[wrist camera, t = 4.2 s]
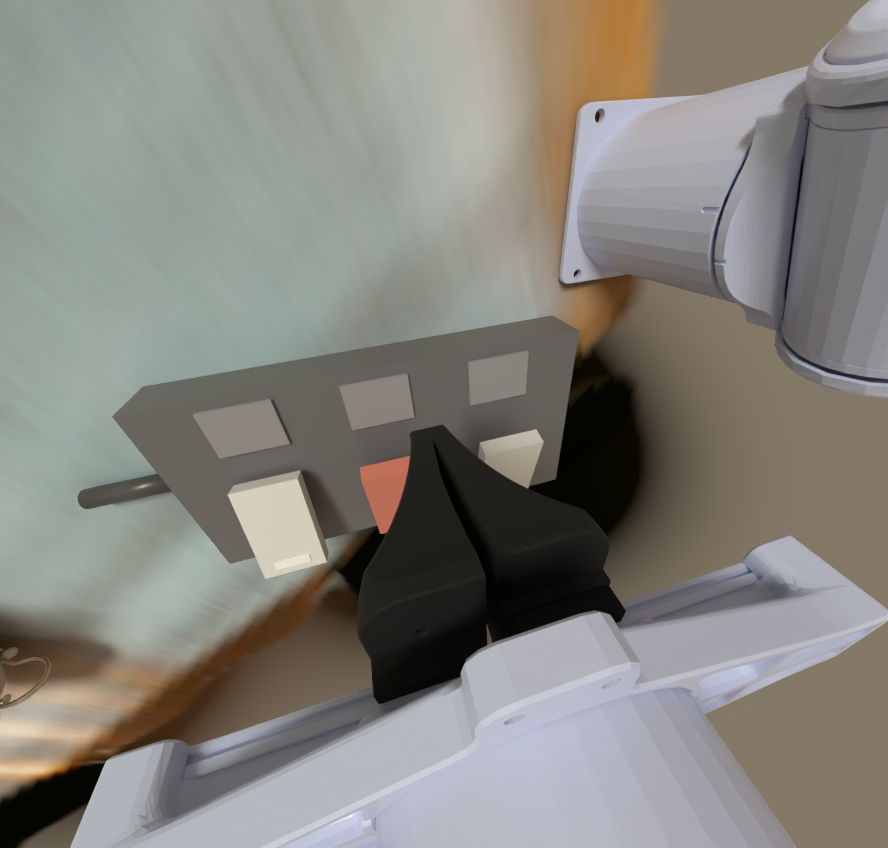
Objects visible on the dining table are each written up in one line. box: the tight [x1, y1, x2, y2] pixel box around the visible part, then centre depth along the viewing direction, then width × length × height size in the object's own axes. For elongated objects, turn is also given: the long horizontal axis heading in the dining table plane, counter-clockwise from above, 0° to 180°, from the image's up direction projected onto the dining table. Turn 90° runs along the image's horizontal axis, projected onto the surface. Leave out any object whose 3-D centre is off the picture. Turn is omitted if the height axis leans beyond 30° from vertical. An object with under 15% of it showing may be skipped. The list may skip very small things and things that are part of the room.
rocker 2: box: [478, 429, 544, 488], centre depth 22 cm, size 4×6×2 cm, turn 4°
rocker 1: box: [227, 470, 328, 579], centre depth 20 cm, size 4×6×2 cm, turn 5°
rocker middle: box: [360, 456, 410, 534], centre depth 21 cm, size 4×6×2 cm, turn 5°
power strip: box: [78, 316, 579, 564], centre depth 21 cm, size 30×12×3 cm, turn 95°
